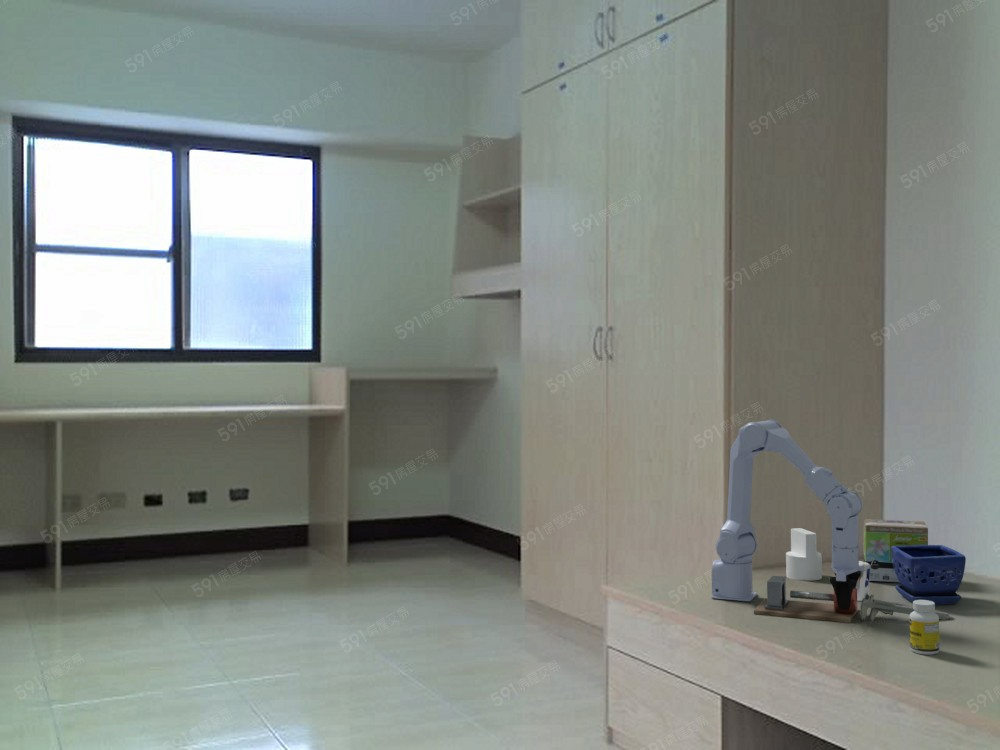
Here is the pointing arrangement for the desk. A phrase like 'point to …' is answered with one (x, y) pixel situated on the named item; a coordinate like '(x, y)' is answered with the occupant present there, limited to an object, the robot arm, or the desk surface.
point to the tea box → (889, 544)
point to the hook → (827, 599)
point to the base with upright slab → (803, 556)
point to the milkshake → (863, 581)
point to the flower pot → (928, 572)
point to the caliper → (888, 608)
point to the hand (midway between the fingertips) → (845, 606)
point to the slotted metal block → (776, 593)
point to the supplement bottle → (924, 628)
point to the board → (806, 611)
